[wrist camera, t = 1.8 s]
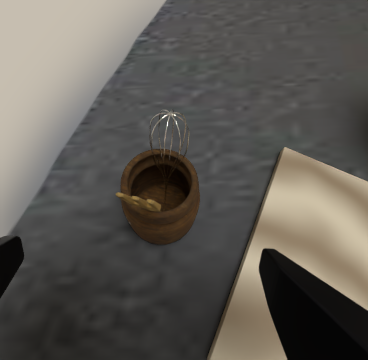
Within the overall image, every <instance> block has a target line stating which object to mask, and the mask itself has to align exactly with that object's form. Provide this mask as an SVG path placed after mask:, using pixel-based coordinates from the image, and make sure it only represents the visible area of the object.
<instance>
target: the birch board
mask: <svg viewBox="0 0 368 360" xmlns="http://www.w3.org/2000/svg"><path fill="white" fill-rule="evenodd" d="M264 248H272V249H276V250H277V251H279V252H280V253H282V254H283V255H285V256H286V257H288V258H289V259H291V260H292V261H294V262H295V263H297V264H298V265H300V266H301V267H303V268H304V269H306V270H307V271H309V272H310V273H312V274H313V275H315V276H316V277H318V278H319V279H321V280H322V281H324V282H325V283H327V284H329V285H330V286H332V287H333V288H335V289H336V290H338V291H339V292H341V293H342V294H344V295H345V296H347V297H348V298H350V299H351V300H353V301H354V302H356V303H357V304H359V305H360V306H362V307H363V308H365V309H366V310H368V182H367V181H365V180H362V179H360V178H358V177H355V176H353V175H350V174H348V173H346V172H343V171H341V170H338V169H336V168H334V167H331V166H329V165H326V164H324V163H322V162H319V161H317V160H315V159H312V158H310V157H307V156H305V155H303V154H300V153H298V152H295V151H293V150H291V149H288V148H286V147H284V148H283V150H282V151H281V152H280V155H279V157H278V160H277V163H276V166H275V169H274V171H273V174H272V177H271V180H270V183H269V186H268V188H267V191H266V194H265V197H264V200H263V202H262V205H261V208H260V211H259V214H258V216H257V219H256V222H255V225H254V228H253V231H252V233H251V236H250V239H249V242H248V245H247V247H246V250H245V253H244V256H243V259H242V261H241V264H240V267H239V270H238V273H237V276H236V278H235V281H234V284H233V287H232V290H231V292H230V295H229V298H228V301H227V304H226V306H225V309H224V312H223V315H222V318H221V321H220V323H219V326H218V329H217V332H216V335H215V337H214V340H213V343H212V346H211V349H210V351H209V354H208V357H207V360H287V358H286V355H285V352H284V350H283V347H282V344H281V342H280V339H279V336H278V334H277V331H276V328H275V326H274V323H273V320H272V318H271V315H270V312H269V308H268V305H267V301H266V297H265V293H264V289H263V286H262V282H261V278H260V274H259V262H260V258H261V253H262V250H263V249H264Z"/></svg>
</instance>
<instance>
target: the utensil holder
mask: <svg viewBox="0 0 368 360" xmlns="http://www.w3.org/2000/svg"><path fill="white" fill-rule="evenodd" d="M172 110H173V109H172ZM172 110H171V112H172ZM162 111H167V110H162ZM162 111H161V112H162ZM161 112H160V114H168V115H169V118H170V115H171V116H172V115H173V116H172V117H173V126H174V120H175V119H174V116H177V115H174V110H173V113H169V112H168V111H167V112H168V113H161ZM175 113H178V112H175ZM160 114H157V115H159V121H158V122H157V124H158V123H160V120H161V119H163V118H164V117H166V116H168V115H166V116H164V117H163V118H161V119H160ZM179 114H181V113H179ZM157 115H156V116H157ZM181 115H183V114H181ZM156 116H154V117H153V119H154V118H155V117H156ZM177 117H179V116H177ZM183 117H184V115H183ZM169 118H168V122H169ZM179 118H180V117H179ZM153 119H152V120H153ZM180 119H181V120H183V119H182V118H180ZM184 119H185V117H184ZM152 120H151V122H152ZM183 121H184V120H183ZM151 122H150V127H151ZM168 122H167V126H168ZM175 122H176V121H175ZM184 123H185V130H186V126H187V124H186V119H185V121H184ZM157 124H156V125H157ZM156 125H155V127H156ZM176 125H177V123H176ZM155 127H154V129H155ZM177 127H178V125H177ZM187 128H188V126H187ZM154 129H153V131H154ZM153 131H152V136H153ZM166 131H167V127H166ZM178 131H179V128H178ZM179 136H180V131H179ZM172 137H173V130H172ZM165 138H166V132H165ZM184 138H185V133H184ZM188 140H189V129H188ZM183 143H184V139H183ZM159 144H160V139H159ZM180 144H181V137H180ZM171 145H172V140H171ZM150 146H151V150H148V151H145V152H143V153H141V154H139V155H137V156H136V157H134V158H133V159H132V160H131V161H130V162H129V163H128V165H127V166H126V168H125V169H124V171H123V174H122V177H121V193H116V196H117V197H119V198H121V202H122V208H123V211H124V214H125V216H126V218H127V220H128V222H129V224H130V225H131V227H132V228H133V230H134V231H135V232H136V234H137V235H138V236H140V237H141V238H142V239H144V240H146V241H148V242H150V243H153V244H169V243H173V242H175V241H177V240H179V239H180V238H182V237H183V236H184V235H185V234H186V233H187V232H188V231H189V229H190V228H191V226H192V224H193V222H194V220H195V217H196V215H197V211H198V208H199V202H200V193H199V182H198V177H197V173H196V171H195V168H194V167H193V165H192V164H191V162H190V161H189V160H188V159H187V158H185V157H184V156H185V155H184V156H183V155H181V154H180V151H181V149H180V147H179V153H177V152H175V151H172V150H171V148H170V150H168V149H165V140H164V149H161V147H160V149H152V137H151V141H150ZM182 146H183V144H182ZM181 148H182V147H181ZM187 148H188V143H187ZM186 152H187V149H186ZM186 152H185V154H186Z"/></svg>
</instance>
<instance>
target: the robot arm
mask: <svg viewBox="0 0 368 360" xmlns="http://www.w3.org/2000/svg"><path fill="white" fill-rule="evenodd" d="M23 259H24V252H23V247H22V242H21V238H20V237H18V236H4V237H1V238H0V298H1V296H2V295H3V293H4V292H5V290H6V288H7V287H8V285H9V283H10V282H11V280H12V278H13V277H14V275H15V273H16V272H17V270H18V269H19V267H20V265H21V264H22V262H23ZM259 274H260V278H261V282H262V286H263V289H264V293H265V297H266V301H267V305H268V308H269V312H270V315H271V318H272V320H273V323H274V326H275V328H276V331H277V334H278V336H279V339H280V342H281V344H282V347H283V350H284V352H285V355H286V358H287V360H368V310H366V309H365V308H363V307H362V306H360V305H359V304H357V303H356V302H354V301H353V300H351V299H350V298H348V297H347V296H345V295H344V294H342V293H341V292H339V291H338V290H336V289H335V288H333V287H332V286H330V285H329V284H327V283H325V282H324V281H322V280H321V279H319V278H318V277H316V276H315V275H313V274H312V273H310V272H309V271H307V270H306V269H304V268H303V267H301V266H300V265H298V264H297V263H295V262H294V261H292V260H291V259H289V258H288V257H286V256H285V255H283V254H282V253H280V252H279V251H277V250H276V249H272V248H264V249H263V250H262V253H261V258H260V262H259Z"/></svg>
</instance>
